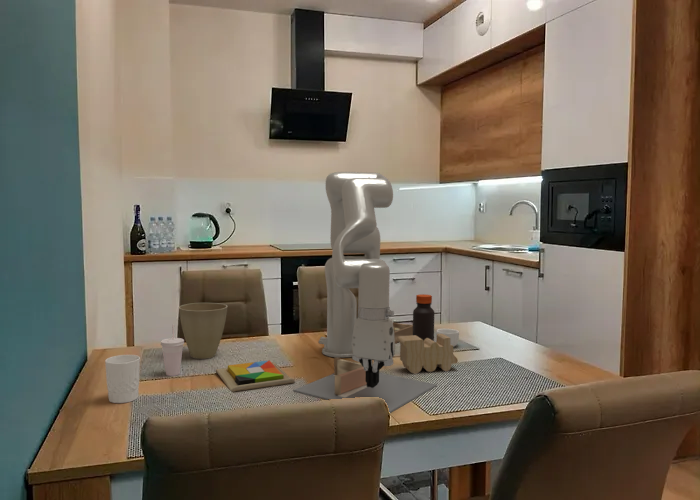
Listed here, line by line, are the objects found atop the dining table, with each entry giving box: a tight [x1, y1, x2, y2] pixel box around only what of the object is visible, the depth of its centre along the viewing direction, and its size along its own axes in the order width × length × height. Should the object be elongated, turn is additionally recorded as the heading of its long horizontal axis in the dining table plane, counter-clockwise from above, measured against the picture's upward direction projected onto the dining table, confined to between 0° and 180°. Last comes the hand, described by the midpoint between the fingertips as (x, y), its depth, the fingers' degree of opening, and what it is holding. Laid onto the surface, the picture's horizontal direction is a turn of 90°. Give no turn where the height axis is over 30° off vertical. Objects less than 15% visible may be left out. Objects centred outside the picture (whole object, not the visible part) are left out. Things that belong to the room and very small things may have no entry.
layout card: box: [293, 372, 438, 414], centre depth 146 cm, size 28×26×1 cm
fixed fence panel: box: [333, 357, 374, 375], centre depth 153 cm, size 13×2×5 cm, turn 55°
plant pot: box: [178, 302, 228, 360], centre depth 176 cm, size 15×15×16 cm
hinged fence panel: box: [335, 367, 367, 395], centre depth 144 cm, size 13×2×4 cm, turn 139°
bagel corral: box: [393, 322, 413, 345], centre depth 204 cm, size 16×16×4 cm
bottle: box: [412, 293, 435, 342], centre depth 176 cm, size 7×7×20 cm
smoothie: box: [160, 324, 185, 377], centre depth 156 cm, size 6×6×14 cm
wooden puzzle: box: [215, 359, 295, 393], centre depth 154 cm, size 18×19×4 cm
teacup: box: [435, 328, 460, 348], centre depth 193 cm, size 10×8×5 cm
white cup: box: [104, 354, 141, 404], centre depth 136 cm, size 8×8×10 cm
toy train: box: [397, 334, 459, 375], centre depth 163 cm, size 6×17×10 cm, turn 104°
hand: (372, 385), depth 138 cm, fingers closed
